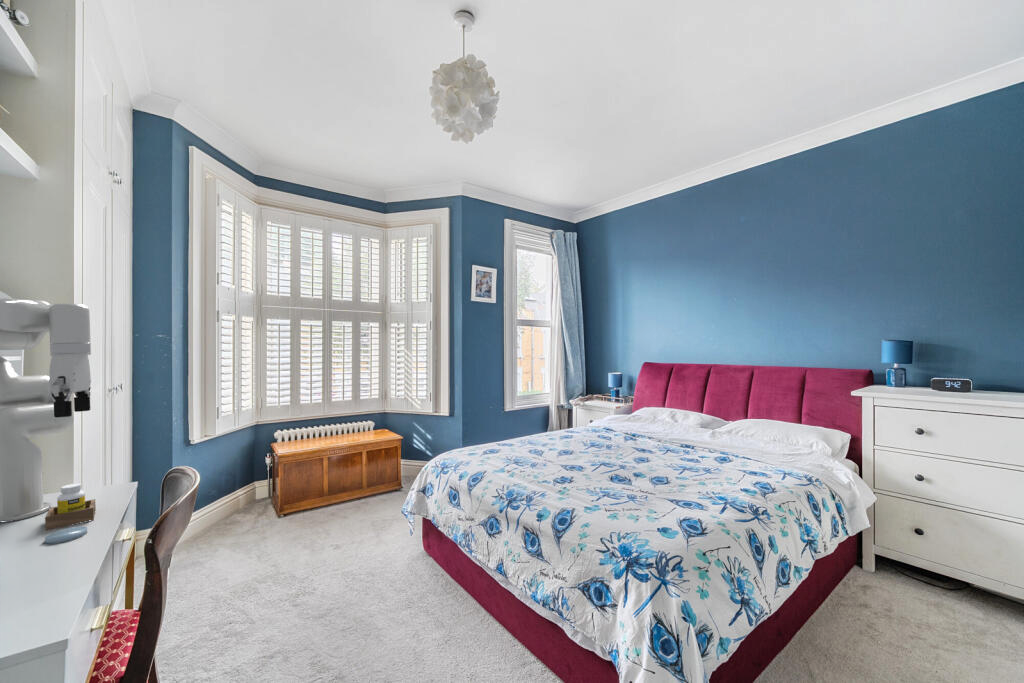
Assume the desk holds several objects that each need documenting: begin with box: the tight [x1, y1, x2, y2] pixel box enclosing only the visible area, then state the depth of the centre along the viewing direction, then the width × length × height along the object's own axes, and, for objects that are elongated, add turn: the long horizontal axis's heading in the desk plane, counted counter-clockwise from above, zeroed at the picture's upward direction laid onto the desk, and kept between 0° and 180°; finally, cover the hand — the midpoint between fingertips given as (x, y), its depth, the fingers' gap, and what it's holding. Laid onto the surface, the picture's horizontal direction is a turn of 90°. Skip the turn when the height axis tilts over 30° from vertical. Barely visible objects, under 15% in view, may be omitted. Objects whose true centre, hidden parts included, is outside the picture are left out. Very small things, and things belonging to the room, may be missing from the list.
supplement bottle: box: [56, 482, 86, 514], centre depth 119 cm, size 5×5×10 cm
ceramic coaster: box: [44, 525, 88, 545], centre depth 109 cm, size 8×8×1 cm
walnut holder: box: [44, 498, 97, 532], centre depth 119 cm, size 9×9×4 cm
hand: (73, 413), depth 114 cm, fingers open, 9 cm apart
